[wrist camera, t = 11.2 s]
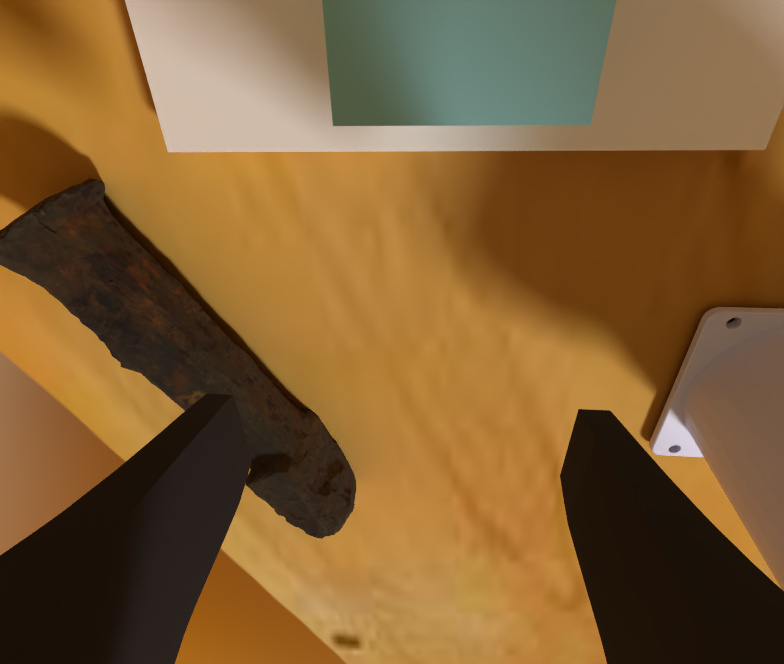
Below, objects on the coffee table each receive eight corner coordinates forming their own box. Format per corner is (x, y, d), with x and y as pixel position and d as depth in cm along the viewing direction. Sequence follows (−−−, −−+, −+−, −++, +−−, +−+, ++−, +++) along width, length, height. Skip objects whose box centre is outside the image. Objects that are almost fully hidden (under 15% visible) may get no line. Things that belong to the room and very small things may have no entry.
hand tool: (42, 212, 18) (-62, 266, 15) (106, 162, 17) (9, 207, 13) (317, 487, 27) (296, 565, 23) (375, 469, 26) (363, 549, 22)
